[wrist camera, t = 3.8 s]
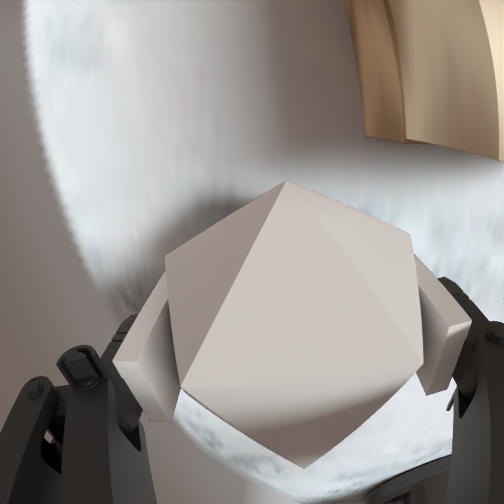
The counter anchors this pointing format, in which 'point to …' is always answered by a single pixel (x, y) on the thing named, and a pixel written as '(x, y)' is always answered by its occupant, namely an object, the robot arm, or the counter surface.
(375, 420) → the counter surface
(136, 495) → the robot arm
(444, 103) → the tower top slab
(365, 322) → the die
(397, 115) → the tower base slab
